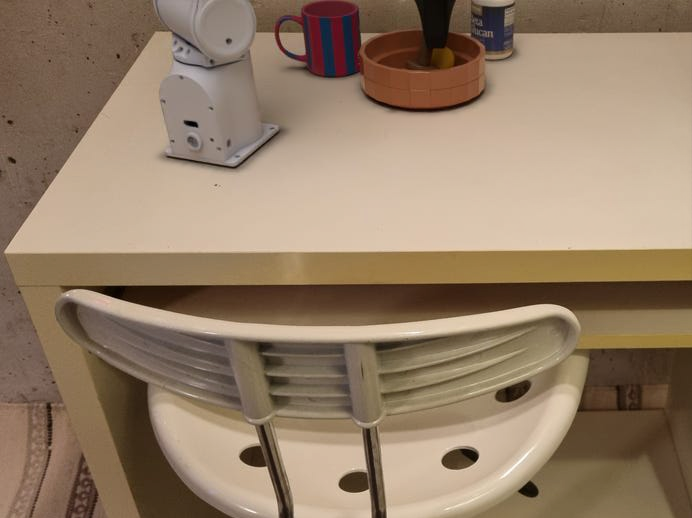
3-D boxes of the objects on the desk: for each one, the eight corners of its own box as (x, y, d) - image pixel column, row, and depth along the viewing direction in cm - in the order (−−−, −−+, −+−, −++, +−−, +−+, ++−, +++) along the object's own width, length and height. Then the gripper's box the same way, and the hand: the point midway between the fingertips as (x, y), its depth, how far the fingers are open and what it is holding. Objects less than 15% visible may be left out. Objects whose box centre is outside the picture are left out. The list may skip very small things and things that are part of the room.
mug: (364, 76, 101) (359, 16, 96) (279, 79, 100) (270, 19, 95) (361, 56, 106) (357, -1, 101) (281, 59, 105) (273, 1, 100)
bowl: (461, 120, 92) (462, 79, 89) (342, 103, 95) (338, 62, 92) (499, 75, 102) (500, 36, 99) (390, 60, 105) (388, 23, 102)
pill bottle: (462, 55, 107) (463, -28, 100) (482, 43, 110) (484, -38, 104) (501, 63, 105) (503, -21, 98) (519, 50, 108) (523, -32, 102)
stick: (441, 79, 97) (459, -5, 92) (407, 72, 95) (424, -14, 91) (434, 70, 100) (452, -12, 95) (402, 63, 99) (417, -20, 94)
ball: (445, 76, 98) (459, 53, 98) (423, 61, 98) (437, 38, 98) (446, 80, 101) (459, 58, 101) (425, 66, 101) (438, 44, 101)
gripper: (474, -75, 82) (473, 66, 91) (469, -105, 93) (468, 23, 102) (402, -76, 82) (407, 66, 91) (405, -106, 93) (410, 22, 102)
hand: (435, 43), depth 96 cm, fingers closed on stick, 2 cm apart
